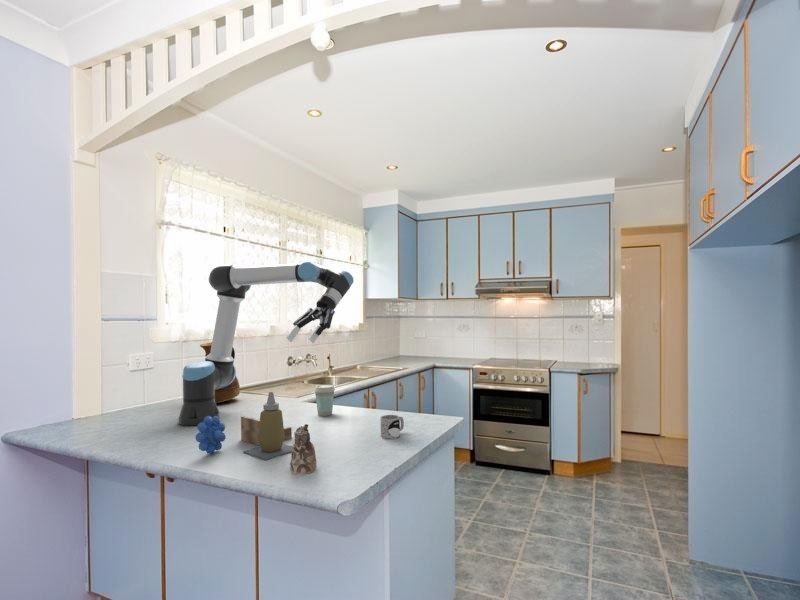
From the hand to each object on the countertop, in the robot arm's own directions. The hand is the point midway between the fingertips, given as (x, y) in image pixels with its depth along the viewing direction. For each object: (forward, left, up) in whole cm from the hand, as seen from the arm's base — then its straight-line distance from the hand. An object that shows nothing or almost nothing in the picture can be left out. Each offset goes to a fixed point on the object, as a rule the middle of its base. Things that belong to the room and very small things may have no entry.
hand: (299, 340), depth 167 cm
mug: (+37, +11, -33) cm, 51 cm away
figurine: (+38, -29, -33) cm, 58 cm away
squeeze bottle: (+17, -25, -32) cm, 44 cm away
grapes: (+5, -37, -33) cm, 50 cm away
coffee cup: (-6, +17, -33) cm, 38 cm away
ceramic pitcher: (-70, +4, -33) cm, 77 cm away
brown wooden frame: (+4, -18, -33) cm, 37 cm away
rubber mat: (+17, -25, -33) cm, 44 cm away
